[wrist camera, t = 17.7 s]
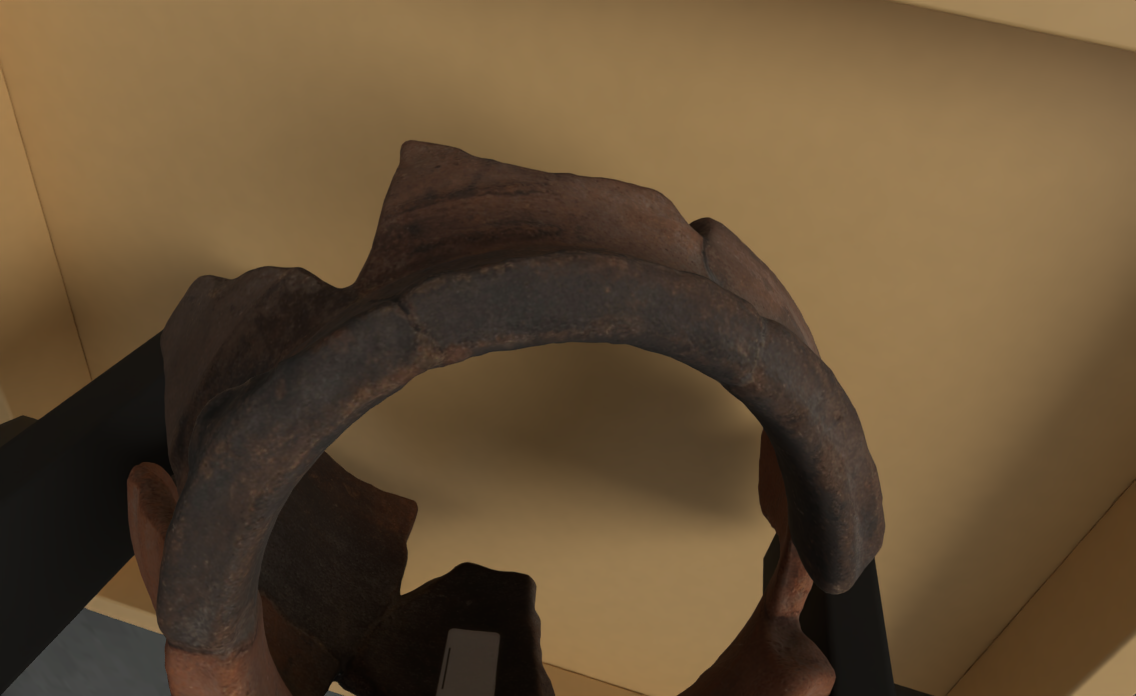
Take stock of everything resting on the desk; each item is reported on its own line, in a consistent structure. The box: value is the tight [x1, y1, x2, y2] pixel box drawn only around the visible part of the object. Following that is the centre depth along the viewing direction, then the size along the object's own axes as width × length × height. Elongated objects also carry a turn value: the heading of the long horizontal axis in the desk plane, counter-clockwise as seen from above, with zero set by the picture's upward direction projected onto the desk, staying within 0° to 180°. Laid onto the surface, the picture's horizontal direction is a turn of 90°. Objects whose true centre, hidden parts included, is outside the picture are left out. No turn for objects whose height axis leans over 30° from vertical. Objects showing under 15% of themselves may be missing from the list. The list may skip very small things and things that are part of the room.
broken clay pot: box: [127, 140, 885, 696], centre depth 11 cm, size 12×10×8 cm
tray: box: [0, 0, 1136, 696], centre depth 13 cm, size 22×18×2 cm
